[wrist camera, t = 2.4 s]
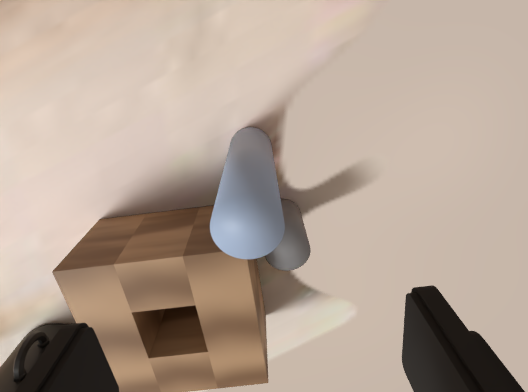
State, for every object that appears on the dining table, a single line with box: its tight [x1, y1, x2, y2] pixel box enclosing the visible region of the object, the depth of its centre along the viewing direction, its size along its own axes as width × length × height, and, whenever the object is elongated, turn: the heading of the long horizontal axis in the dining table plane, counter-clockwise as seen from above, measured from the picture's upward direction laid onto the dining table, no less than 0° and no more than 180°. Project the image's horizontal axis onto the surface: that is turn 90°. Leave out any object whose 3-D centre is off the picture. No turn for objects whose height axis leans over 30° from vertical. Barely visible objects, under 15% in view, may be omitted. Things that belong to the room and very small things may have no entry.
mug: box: [0, 324, 65, 392], centre depth 33 cm, size 9×12×9 cm
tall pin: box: [210, 127, 285, 259], centre depth 22 cm, size 4×4×14 cm
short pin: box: [265, 199, 310, 271], centre depth 29 cm, size 4×4×6 cm
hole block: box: [53, 205, 268, 392], centre depth 30 cm, size 14×14×8 cm
